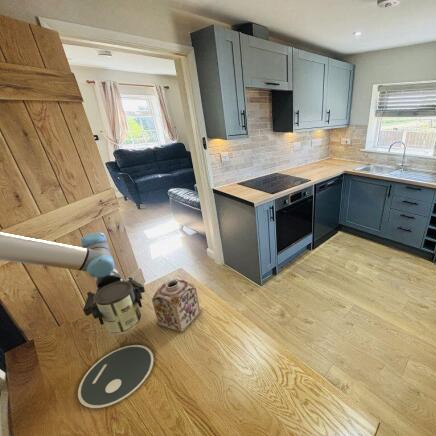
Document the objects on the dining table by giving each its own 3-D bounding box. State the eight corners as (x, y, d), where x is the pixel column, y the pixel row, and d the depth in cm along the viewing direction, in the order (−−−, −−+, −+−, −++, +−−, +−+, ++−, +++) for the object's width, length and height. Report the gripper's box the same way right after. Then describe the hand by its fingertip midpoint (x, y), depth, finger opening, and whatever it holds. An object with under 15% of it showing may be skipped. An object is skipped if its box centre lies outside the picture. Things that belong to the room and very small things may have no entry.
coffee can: (122, 310, 88) (111, 279, 82) (148, 312, 87) (139, 282, 82) (99, 333, 79) (84, 301, 73) (128, 336, 78) (116, 303, 72)
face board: (60, 412, 66) (59, 410, 66) (105, 347, 85) (104, 346, 84) (135, 406, 68) (134, 404, 68) (163, 344, 86) (163, 342, 86)
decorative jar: (181, 333, 91) (173, 297, 83) (157, 325, 94) (147, 289, 86) (201, 311, 101) (195, 277, 94) (179, 304, 104) (171, 271, 97)
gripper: (143, 275, 100) (161, 303, 86) (73, 302, 86) (80, 341, 71) (139, 260, 97) (156, 287, 83) (66, 285, 83) (72, 323, 68)
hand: (121, 312), depth 77 cm, fingers closed on coffee can, 10 cm apart
